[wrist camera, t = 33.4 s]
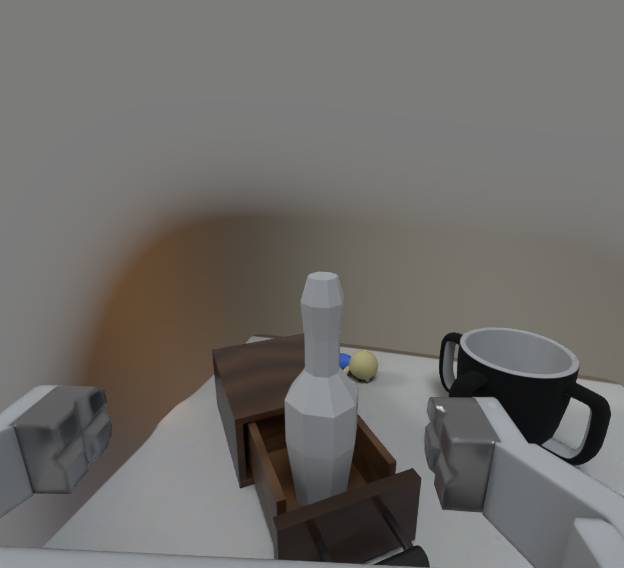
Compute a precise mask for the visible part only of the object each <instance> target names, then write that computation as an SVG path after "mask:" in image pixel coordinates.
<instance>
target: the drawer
mask: <svg viewBox="0 0 624 568" xmlns="http://www.w3.org/2000/svg"><path fill="white" fill-rule="evenodd" d="M244 429H245V442H246V456H247V462H248V465H249V468H250V471H251V475H252V478H253V481H254V484H255V487H256V490H257V493H258V496H259V500H260V503H261V506H262V509H263V512H264V515H265V518H266V522H267V525H268V528H269V531H270V534H271V537H272V540H273V543H274V560H292V561H311V562H330V563H349V564H359V563H361V562H363V561H366V560H368V559H370V558H373V557H375V556H377V555H380V554H382V553H384V552H387V551H389V550H391V549H394V548H396V547H398V546H402V548H403V549H404V551H403V552H401V553H398V554H396V555H394V556H392V557H389V558H387V559H385V560H383V561H380V562H378V563H376V564H373V565H387V566H407V567H429V568H430V565H429V561H428V558H427V555H426V553H425V552H424V550H423V549H422V548H421V547H420V546H418V545H417V546H413V544H412V543H411V541H412V540H414V539H415V533H416V524H417V515H418V505H419V496H420V486H421V477H420V476H419V475H418V474H417V473H416V471H415V470H414V469H413V468H412V469H409V470H406V471H403V472H400V473H397V474H395V473H396V460H395V459H394V458H393V457H392V455H391V454H390V453H389V452H388V451H387V449H386V448H385V447H384V446H383V444H382V443H381V442H380V441H379V440H378V438H377V437H376V436H375V435H374V433H373V432H372V431H371V430H370V429H369V427H368V426H367V425H366V424H365V422H364V421H363V420H362V419H361V417H360V416H359V415H358V414H357V430H356V438H355V445H354V451H353V457H352V463H351V468H350V474H349V480H348V485H347V491H346V492H343V493H340V494H337V495H335V496H332V497H329V498H326V499H323V500H320V501H318V502H315V503H312V504H309V505H306V506H303V507H302V506H301V505H300V504H299V503H298V501H297V498H296V493H295V487H294V482H293V477H292V471H291V466H290V461H289V455H288V450H287V444H286V432H285V413H284V414H280V415H276V416H272V417H268V418H265V419H261V420H257V421H253V422H249V423H245V424H244Z"/></svg>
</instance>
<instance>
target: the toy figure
mask: <svg viewBox="0 0 624 568" xmlns="http://www.w3.org/2000/svg"><path fill="white" fill-rule="evenodd" d="M339 366H340V368H341V369H342V370H343V371H344V372H345V373H346V375H347V374H348V372H349V371H351V373H352V374H353V375H354V376H355V377H356V378H358V379H362V380H365V381H366V382H369V380H370V378H372V377H373V376H374V375H375V374H376V372H377V369H378V362H377V359H376V357H375V356H374V355H373V354H372V353H371V352H368V351H364V349H362V350H361V351H358V352H356V353H354V354H353V355H352V357H351V356H349V355H347V354H343V353H340V361H339Z"/></svg>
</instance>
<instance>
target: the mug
mask: <svg viewBox="0 0 624 568" xmlns="http://www.w3.org/2000/svg"><path fill="white" fill-rule="evenodd" d="M456 344H458V345H459V351H458V362H457V379H455V377H454V372H453V360H454V351H455V346H456ZM579 366H580V364H579V361H578V359H577V357H576V356H575V355H574V354H573V353H572V352H571V351H570V350H569V349H567V348H566V347H564V346H562V345H561V344H559V343H557V342H555V341H553V340H551V339H549V338H546V337H543V336H540V335H537V334H534V333H530V332H526V331H522V330H516V329H509V328H480V329H476V330H472V331H469V332H467V333H465V334H464V335H461V334H459V333H449V334H447V335H446V336H445V337H444V338H443V340H442V343H441V350H440V360H439V374H440V378H441V382H442V385H443V387H444V388H445V390H446V391H447V392H448V393H449V397H456V398H472V397H494V398H496V399H497V400H498V401H499V403H500V404H501V405H502V407H503V408H504V410H505V411H506V413H507V414H508V415H509V417H510V418H511V420H512V421H513V422H514V424H515V425H516V427H517V428H518V430H519V431H520V432H521V434H522V435H523V437H524V438H525V439H526V441H527V442H528V444H536V445H538V446H540V447H541V448H543V449H545V450H547V451H548V452H550V453H552V454H553V455H555V456H557V457H558V458H560V459H562V460H563V461H565V462H567V463H569V464H571V465H580V464H584V463H586V462H588V461H589V460H591V459H592V458H593V457H595V456H596V454H597V453H598V452H599V450H600V449H601V447H602V445H603V442H604V439H605V436H606V433H607V429H608V425H609V421H610V417H611V411H610V406H609V404H608V402H607V400H606V399H605V398H604V397H602V396H600V395H599V394H597V393H595V392H593V391H591V390H589V389H587V388H585V387H583V386H581V385H579V384H577V383H576V380H577V375H578V371H579ZM571 397H572V398H574V399H576V400H578V401H581V402H583V403H584V404H586V405H588V406H589V408H590V415H589V421H588V425H587V429H586V433H585V436H584V439H583V441H582V443H581V446H580V447H579V448H578V449H576V450H574V449H572V448H570V447H568V446H566V445H564V444H562V443H560V442H558V441H556V440H555V439H553V438H552V436H553V435H554V433H555V431H556V430H557V428H558V426H559V424H560V421H561V419H562V417H563V415H564V413H565V411H566V408H567V406H568V404H569V401H570V398H571Z"/></svg>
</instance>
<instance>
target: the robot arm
mask: <svg viewBox="0 0 624 568" xmlns="http://www.w3.org/2000/svg"><path fill="white" fill-rule="evenodd" d="M106 403H107V399H106V395H105V391H104V390H102V389H101V388H100V387H82V386H60V385H41V386H36V387H35V388H33V389H32V390H31V391H30V392H28V393H27V394H26V395H24V396H23V397H22V398H20V399H19V400H18V401H16V402H15V403H14V404H12V405H11V406H10V407H8V408H7V409H6V410H4V411H3V412H2V413H0V518H1V517H3V516H4V515H5V514H7V513H8V512H10V511H11V510H13V509H14V508H16V507H17V506H19V505H20V504H21V503H23V502H24V501H26V500H27V499H29V498H30V497H32V496H33V495H34V494H33V493H51V494H52V493H53V494H54V493H55V494H70V493H72V491H73V490H74V489H75V487H76V486H77V485H78V483H79V482H80V481H81V480H82V479H83V477H84V476H85V475H86V474H87V472H88V471H89V469H88V463H89V462H91V461H93V460H95V459H96V458H98V457H100V456H101V454H102V453H103V452H104V450H105V449H106V448H107V446H108V443H109V440H110V437H111V431H112V424H111V418H110V416H108V414H107V413H106V412H105V411H104V410H103V408H104V407H105V405H106ZM427 413H428V416H429V419H430V421H431V422H430V423H429V424H428V425H427V426H426V427H425V437H424V442H425V454H426V459H427V463H428V466H429V469H430V470H431V471H433V472H434V473H435V481H434V485H435V488H436V492H437V495H438V498H439V501H440V504H441V507H442V510H455V511H469V512H483V515H484V517H485V518H486V519H487V520H488V521H489V522H490V523H491V524H492V525H493V526H494V527H495V528H496V529H497V530H498V531H499V532H500V533H501V534H502V535H503V536H504V537H505V538H506V539H507V540H508V541H509V542H510V543H511V544H512V545H513V546H514V547H515V548H516V549H517V550H518V551H519V552H520V553H521V554H522V555H523V556H524V557H525V558H526V559H527V560H528V562H529V563H530V564H531V565H532V566H533V567H534V568H624V496H623V495H621V494H619V493H618V492H616V491H614V490H613V489H611V488H609V487H608V486H606V485H604V484H602V483H601V482H599V481H597V480H596V479H594V478H592V477H591V476H589V475H587V474H586V473H584V472H582V471H580V470H579V469H577V468H575V467H574V466H572V465H570V464H569V463H567V462H565V461H563V460H562V459H560V458H558V457H557V456H555V455H553V454H552V453H550V452H548V451H547V450H545V449H543V448H541V447H540V446H538V445H536V444H528V442H527V441H526V439H525V438H524V437H523V435H522V434H521V432H520V431H519V430H518V428H517V427H516V425H515V424H514V422H513V421H512V420H511V418H510V417H509V415H508V414H507V413H506V411H505V410H504V408H503V407H502V405H501V404H500V403H499V401H498V400H497V399H496V398H494V397H472V398H456V397H430V399H429V402H428V408H427ZM0 568H429V567H407V566H387V565H368V564H349V563H330V562H311V561H292V560H273V559H254V558H233V557H213V556H192V555H172V554H151V553H131V552H111V551H90V550H70V549H50V548H30V547H9V546H0Z"/></svg>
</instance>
